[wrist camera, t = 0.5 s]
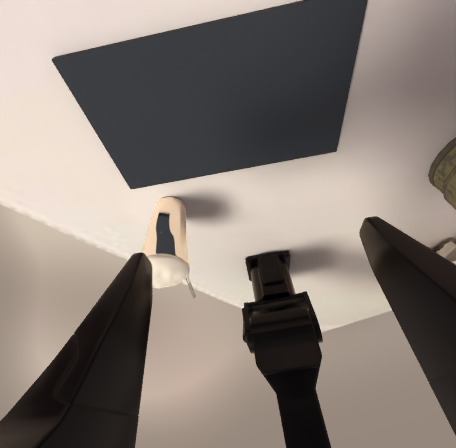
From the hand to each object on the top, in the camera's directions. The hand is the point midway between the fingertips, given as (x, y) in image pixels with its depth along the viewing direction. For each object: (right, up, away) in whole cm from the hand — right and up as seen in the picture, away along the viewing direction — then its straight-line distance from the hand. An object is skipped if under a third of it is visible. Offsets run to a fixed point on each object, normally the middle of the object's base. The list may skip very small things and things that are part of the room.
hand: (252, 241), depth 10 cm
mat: (-2, +10, +9) cm, 14 cm away
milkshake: (-7, +3, +17) cm, 18 cm away
